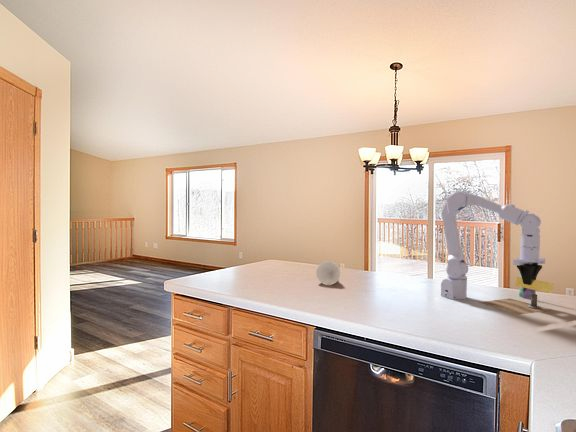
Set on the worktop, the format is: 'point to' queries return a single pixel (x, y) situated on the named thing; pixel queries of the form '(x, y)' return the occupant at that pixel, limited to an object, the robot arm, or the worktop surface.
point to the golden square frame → (535, 285)
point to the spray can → (526, 291)
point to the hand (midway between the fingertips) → (528, 284)
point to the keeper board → (516, 305)
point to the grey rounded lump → (328, 272)
